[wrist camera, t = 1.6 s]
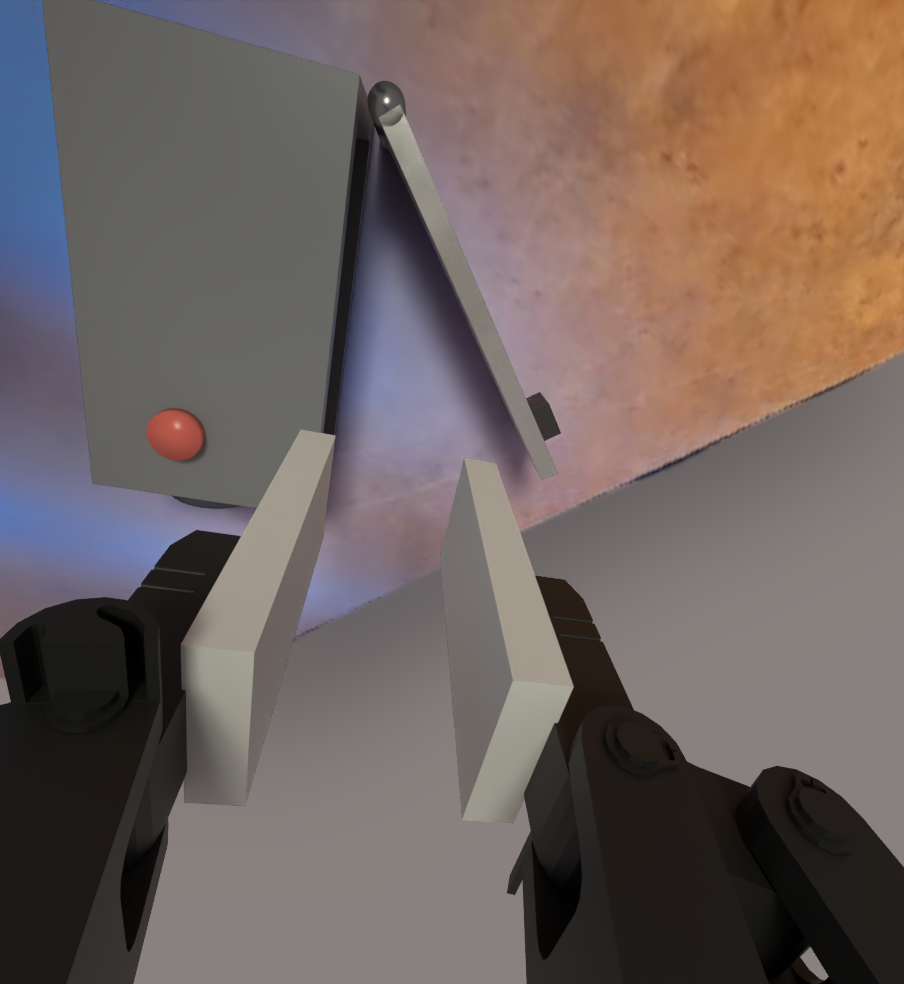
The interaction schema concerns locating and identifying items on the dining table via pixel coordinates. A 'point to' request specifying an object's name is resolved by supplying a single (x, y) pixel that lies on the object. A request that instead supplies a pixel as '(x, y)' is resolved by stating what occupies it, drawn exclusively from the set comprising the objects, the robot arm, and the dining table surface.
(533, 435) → the side door
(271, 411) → the grey cabinet body
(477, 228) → the dining table surface
